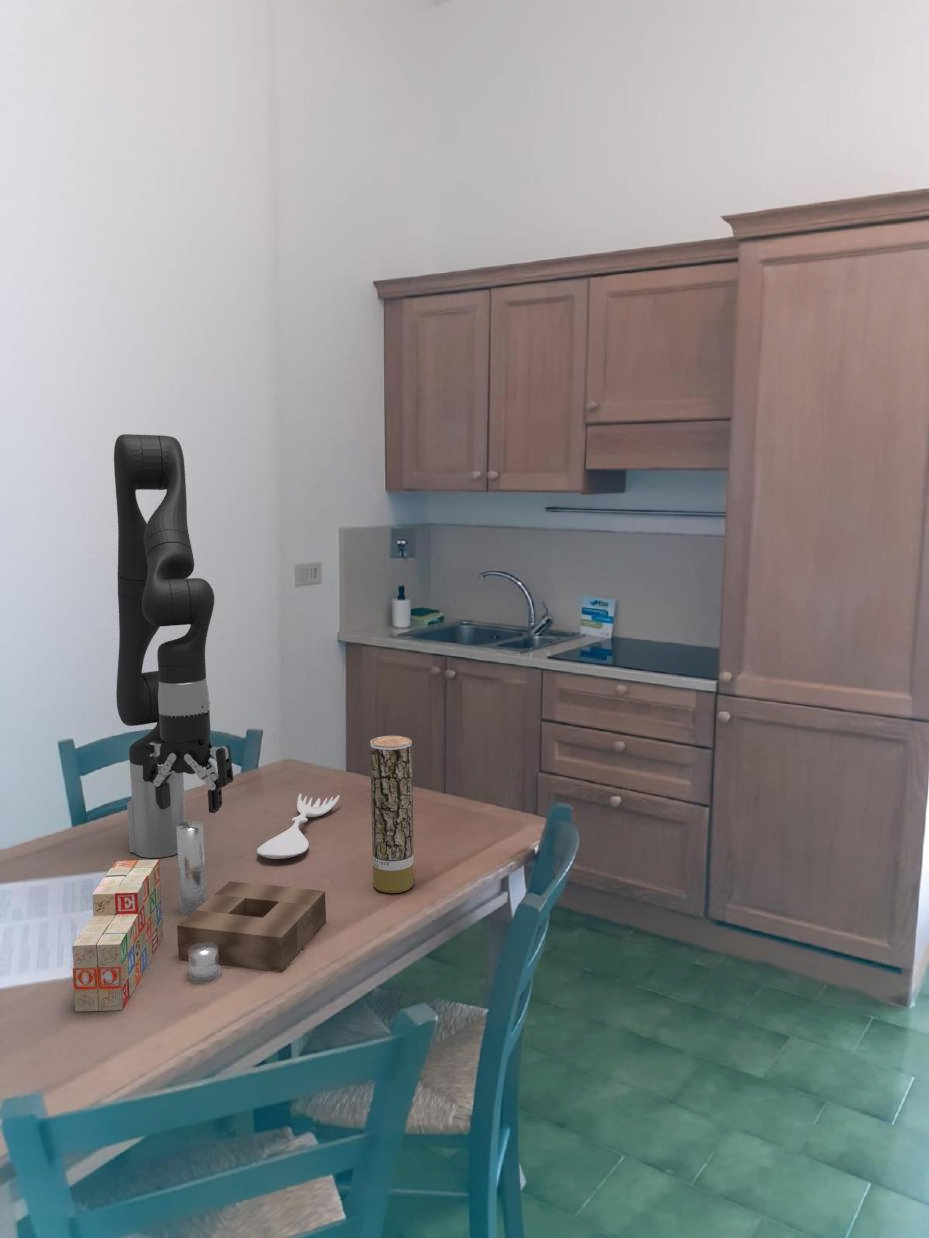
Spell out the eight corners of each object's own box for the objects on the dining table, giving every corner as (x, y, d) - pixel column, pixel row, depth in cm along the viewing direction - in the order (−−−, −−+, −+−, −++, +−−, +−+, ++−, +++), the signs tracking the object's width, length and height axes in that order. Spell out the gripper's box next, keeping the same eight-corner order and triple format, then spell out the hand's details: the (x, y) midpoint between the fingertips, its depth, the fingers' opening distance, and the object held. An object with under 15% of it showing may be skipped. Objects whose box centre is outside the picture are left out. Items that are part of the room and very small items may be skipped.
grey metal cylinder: (184, 981, 136) (182, 953, 136) (198, 967, 140) (197, 940, 140) (210, 984, 135) (209, 957, 135) (224, 970, 139) (223, 943, 139)
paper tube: (398, 898, 162) (395, 748, 159) (364, 889, 166) (361, 743, 162) (421, 883, 168) (419, 739, 164) (389, 875, 172) (386, 733, 168)
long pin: (175, 914, 157) (171, 828, 155) (188, 903, 161) (184, 820, 159) (198, 916, 156) (194, 830, 154) (211, 906, 160) (207, 822, 158)
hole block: (178, 958, 143) (177, 925, 142) (231, 911, 158) (230, 881, 157) (282, 971, 139) (281, 937, 138) (326, 921, 154) (325, 890, 153)
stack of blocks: (124, 1011, 129) (118, 921, 127) (74, 1013, 129) (68, 923, 127) (163, 935, 150) (159, 857, 148) (121, 937, 150) (116, 858, 148)
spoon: (341, 808, 207) (341, 792, 206) (299, 868, 175) (298, 850, 175) (299, 807, 208) (298, 791, 207) (249, 867, 176) (248, 848, 176)
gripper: (129, 711, 152) (135, 814, 154) (214, 715, 148) (219, 820, 151) (155, 701, 159) (161, 799, 161) (237, 704, 156) (242, 805, 158)
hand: (189, 809), depth 156 cm, fingers open, 8 cm apart
